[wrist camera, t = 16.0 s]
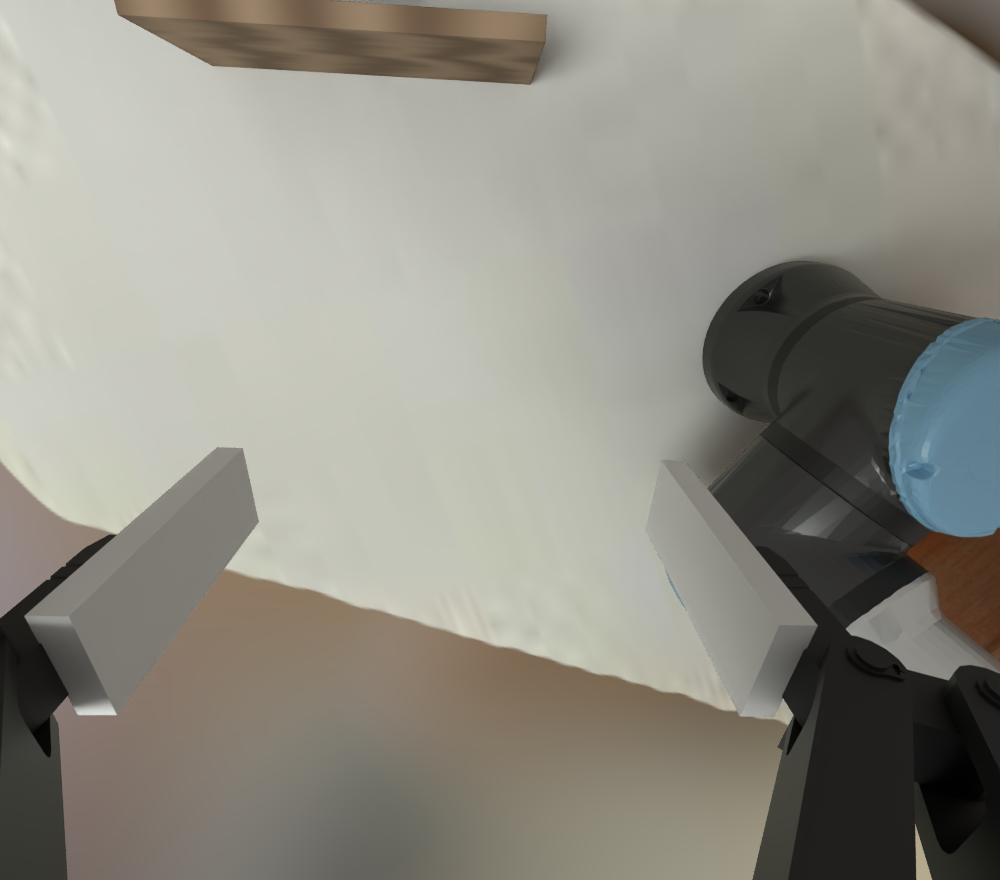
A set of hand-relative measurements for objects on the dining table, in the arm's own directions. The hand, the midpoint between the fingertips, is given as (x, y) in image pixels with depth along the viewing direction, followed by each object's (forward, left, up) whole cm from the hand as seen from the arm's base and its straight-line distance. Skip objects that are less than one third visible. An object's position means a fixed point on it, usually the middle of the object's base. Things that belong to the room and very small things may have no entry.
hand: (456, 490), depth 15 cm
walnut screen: (+8, -18, -32) cm, 37 cm away
